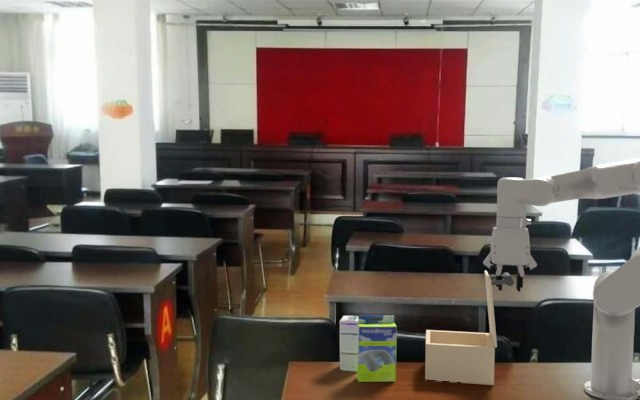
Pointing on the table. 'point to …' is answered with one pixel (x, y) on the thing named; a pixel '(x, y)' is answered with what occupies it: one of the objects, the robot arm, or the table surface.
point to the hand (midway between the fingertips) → (509, 289)
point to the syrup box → (348, 343)
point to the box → (376, 349)
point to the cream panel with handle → (508, 281)
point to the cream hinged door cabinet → (459, 357)
